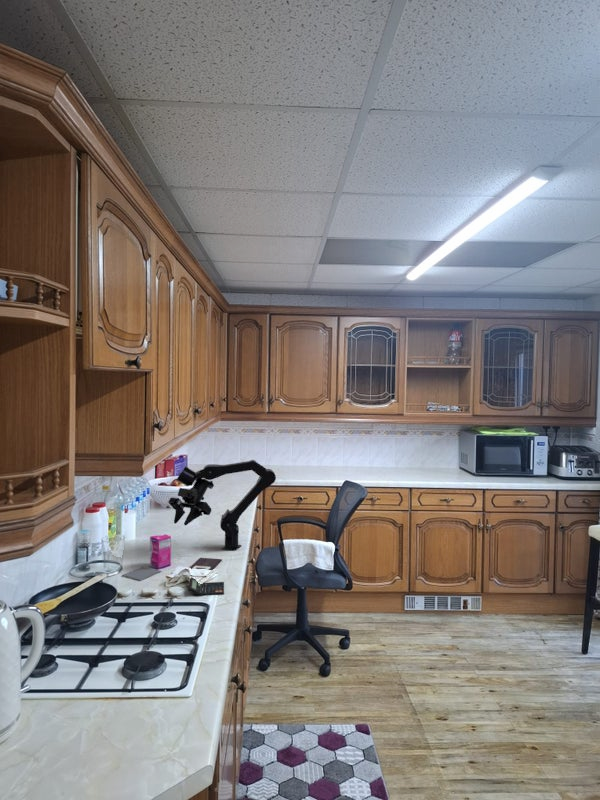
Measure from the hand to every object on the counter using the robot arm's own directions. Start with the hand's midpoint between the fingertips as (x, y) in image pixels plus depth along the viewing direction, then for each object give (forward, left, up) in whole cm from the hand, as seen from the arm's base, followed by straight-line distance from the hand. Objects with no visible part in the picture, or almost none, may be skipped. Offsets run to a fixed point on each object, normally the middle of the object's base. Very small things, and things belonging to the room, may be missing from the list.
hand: (179, 523), depth 194 cm
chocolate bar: (+7, +14, -14) cm, 21 cm away
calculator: (+24, +25, -14) cm, 38 cm away
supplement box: (+10, -2, -14) cm, 17 cm away
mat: (+20, -3, -14) cm, 24 cm away
